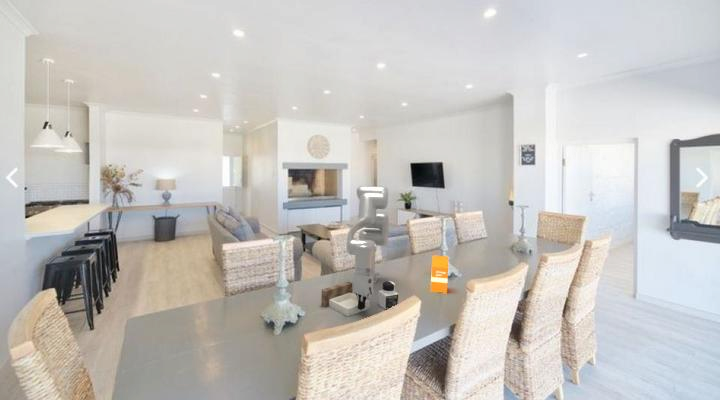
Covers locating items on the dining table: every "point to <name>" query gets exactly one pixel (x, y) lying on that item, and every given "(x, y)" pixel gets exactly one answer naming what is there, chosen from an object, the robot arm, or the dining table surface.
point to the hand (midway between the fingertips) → (361, 308)
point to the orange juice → (439, 274)
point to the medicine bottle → (388, 295)
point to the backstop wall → (335, 292)
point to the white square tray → (347, 304)
